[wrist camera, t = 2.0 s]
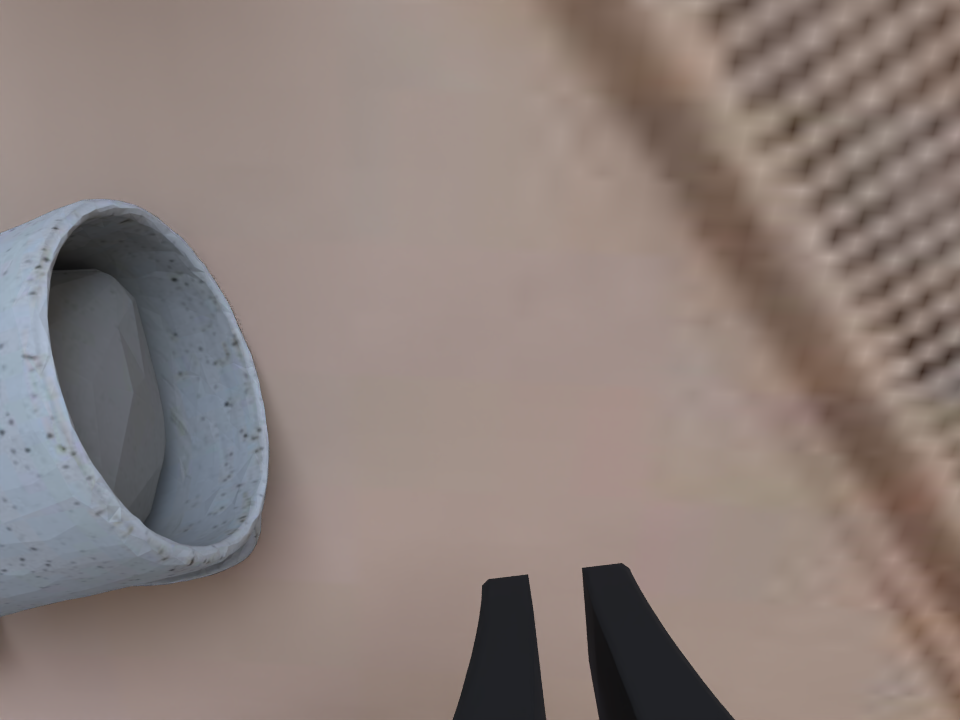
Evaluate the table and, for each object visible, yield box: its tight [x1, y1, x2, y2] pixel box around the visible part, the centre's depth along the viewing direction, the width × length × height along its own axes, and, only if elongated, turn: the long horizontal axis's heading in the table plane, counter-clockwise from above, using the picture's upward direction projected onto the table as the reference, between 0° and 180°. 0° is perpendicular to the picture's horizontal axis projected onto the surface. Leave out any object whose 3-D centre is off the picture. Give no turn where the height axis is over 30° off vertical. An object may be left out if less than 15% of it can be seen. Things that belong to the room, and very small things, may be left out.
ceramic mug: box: [0, 199, 270, 617], centre depth 18 cm, size 11×8×8 cm
